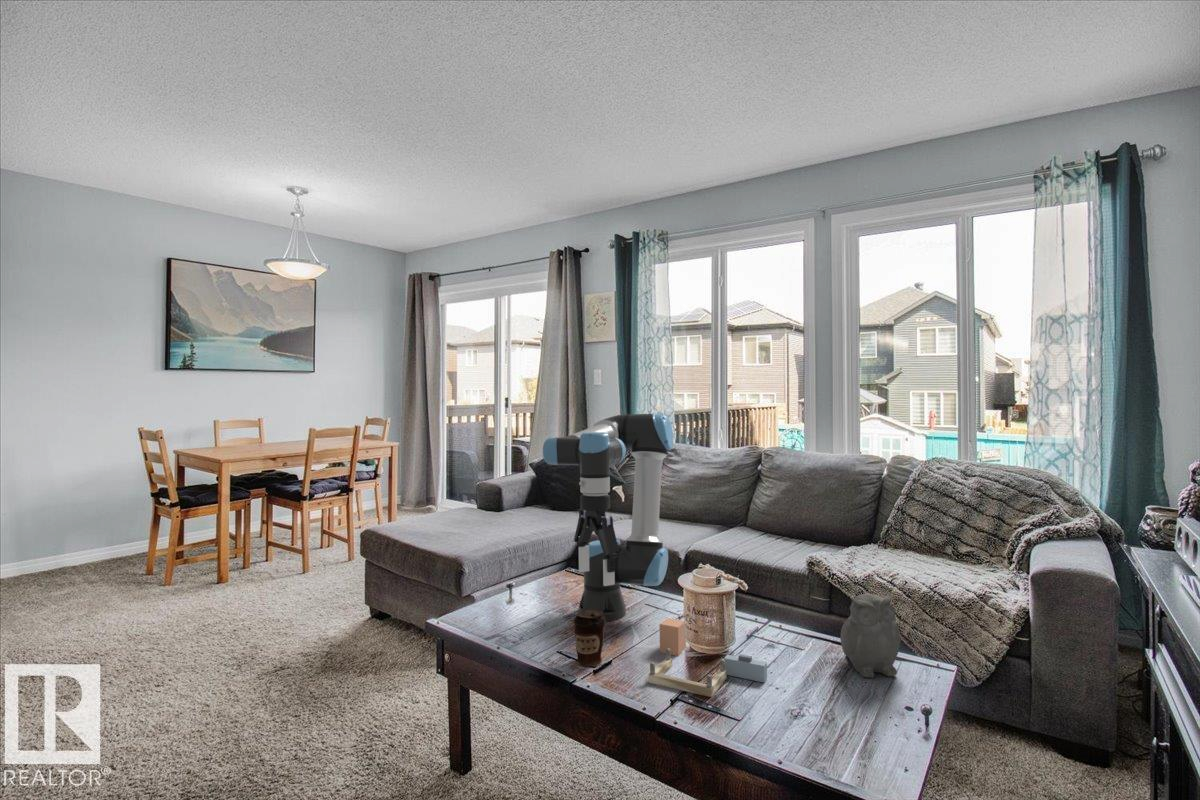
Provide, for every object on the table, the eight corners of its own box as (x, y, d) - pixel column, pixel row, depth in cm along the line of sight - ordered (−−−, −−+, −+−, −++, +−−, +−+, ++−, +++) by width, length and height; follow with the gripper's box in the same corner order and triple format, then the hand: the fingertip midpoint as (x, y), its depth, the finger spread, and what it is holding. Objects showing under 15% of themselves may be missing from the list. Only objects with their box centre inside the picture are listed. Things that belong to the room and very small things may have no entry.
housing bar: (727, 670, 154) (727, 650, 154) (766, 678, 149) (766, 658, 149) (724, 674, 152) (724, 654, 152) (764, 682, 147) (764, 661, 147)
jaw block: (667, 646, 171) (667, 617, 171) (686, 650, 168) (685, 621, 168) (659, 653, 166) (659, 624, 166) (678, 657, 163) (678, 627, 163)
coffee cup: (602, 671, 155) (601, 619, 155) (570, 668, 156) (570, 618, 157) (608, 657, 163) (608, 608, 164) (578, 655, 165) (578, 607, 165)
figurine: (853, 681, 148) (851, 599, 148) (828, 654, 164) (827, 580, 164) (911, 681, 148) (909, 598, 148) (880, 654, 164) (879, 580, 164)
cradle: (666, 665, 158) (666, 647, 158) (726, 677, 150) (726, 659, 150) (648, 682, 148) (648, 663, 148) (711, 697, 140) (711, 677, 140)
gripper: (561, 488, 162) (562, 568, 162) (605, 501, 140) (606, 593, 140) (586, 486, 166) (587, 564, 165) (633, 499, 144) (634, 588, 143)
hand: (596, 578), depth 153 cm, fingers open, 13 cm apart
